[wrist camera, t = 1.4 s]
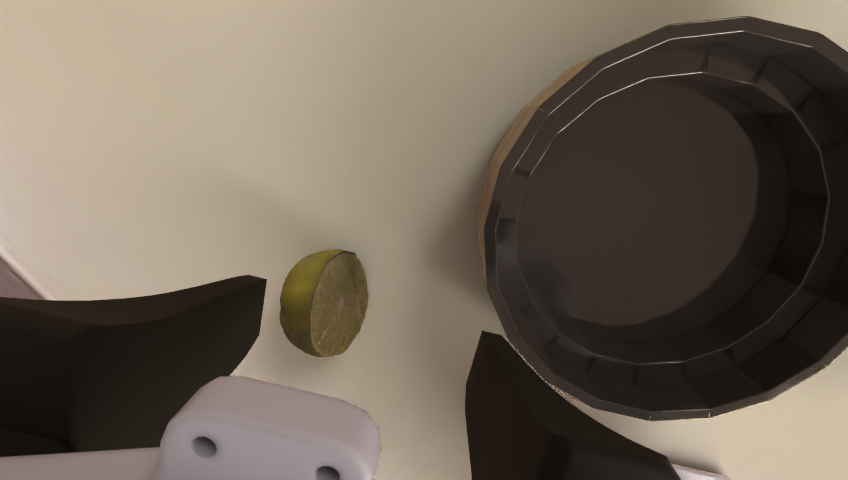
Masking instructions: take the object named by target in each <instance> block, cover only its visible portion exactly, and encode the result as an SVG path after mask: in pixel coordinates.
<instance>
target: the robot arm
mask: <svg viewBox="0 0 848 480" xmlns="http://www.w3.org/2000/svg"><path fill="white" fill-rule="evenodd" d="M266 282H267V279H263V278H259V277H255V276H251V275H244V276H238V277H233V278H229V279H225V280H221V281H217V282H213V283H209V284H205V285H201V286H197V287H192V288H188V289H183V290H178V291H174V292H169V293H163V294H157V295H151V296H143V297H135V298H125V299H109V300H93V301H53V300H32V299H18V298H5V297H0V480H375V474H376V469H377V465H378V460H379V455H380V450H381V446H380V432H379V428H378V427H377V425H376V424H375V423H374V421H373V420H372V419H371V417H370V416H369V415H368V413H367V412H366V411H365V410H363V409H361V408H359V407H357V406H355V405H352V404H350V403H348V402H346V401H344V400H340V399H336V398H332V397H328V396H323V395H319V394H315V393H311V392H306V391H302V390H298V389H294V388H290V387H285V386H281V385H277V384H273V383H269V382H264V381H260V380H256V379H252V378H247V377H238V376H229V375H230V374H231V373H232V372H233V371H234V370H235V368H236V367H237V366H238V365H239V364H240V363H241V361H242V360H243V359H244V358H245V356H246V355H247V353H248V352H249V350H250V349H251V347H252V346H253V344H254V342H255V341H256V339H257V337H258V336H259V333H260V325H261V318H262V311H263V304H264V296H265V289H266ZM465 415H466V425H467V435H468V444H469V454H470V463H471V473H472V480H731V479H730V478H729V477H727V476H724V475H719V474H715V473H711V472H706V471H702V470H697V469H693V468H689V467H684V466H680V465H676V464H671V463H670V461H669V460H668V458H667V457H666V456H664V455H662V454H660V453H658V452H655V451H653V450H651V449H649V448H647V447H644V446H642V445H640V444H638V443H636V442H633V441H631V440H629V439H627V438H625V437H624V436H622V435H620V434H618V433H616V432H614V431H613V430H611V429H609V428H607V427H605V426H604V425H602V424H600V423H599V422H597V421H595V420H594V419H592V418H591V417H589V416H588V415H586V414H585V413H583V412H582V411H580V410H579V409H578V408H576V407H575V406H573V405H572V404H571V403H569V402H568V401H567V400H566V399H564V398H563V397H562V396H561V395H559V394H558V393H557V392H556V391H554V390H553V389H552V388H551V387H550V386H549V385H548V384H547V383H546V382H545V381H543V380H542V379H541V378H540V377H539V376H538V375H537V374H536V373H535V372H534V371H533V370H532V369H531V368H530V367H529V365H528V364H527V363H526V362H525V361H524V360H523V359H522V358H521V357H520V356H519V355H518V353H517V352H516V351H515V350H514V349H513V348H512V347H511V345H510V344H509V343H508V342H507V341H506V340H505V339H504V338H503V337H502V336H501V335H498V334H494V333H490V332H485V331H482V333H481V336H480V340H479V343H478V346H477V350H476V353H475V356H474V359H473V363H472V366H471V369H470V373H469V376H468V379H467V383H466V398H465Z"/></svg>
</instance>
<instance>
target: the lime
mask: <svg viewBox="0 0 848 480" xmlns="http://www.w3.org/2000/svg"><path fill="white" fill-rule="evenodd" d="M356 256H357V255H356V254H355V253H353V252H348V251H343V250H327V251H322V252H318V253H314V254H311V255H309V256H307V257H305V258H303V259H301V260H300V261H299V262H298V263H297V264H296V265H295V266H294V267H293V269H292V270H291V271H290V272H289V274H288V276H287V277H286V279H285V282H284V285H283V288H282V292H281V296H280V303H281V304H280V305H281V311H280V323H281V326H282V328H283V331H284V333H285V335H286V337H287V338H288V340H289V341H290V342H291V343H292V344H293V345H294V346H296V347H297V348H299V349H300V350H302V351H303V352H305V353H307V354H310V355H312V356H316V357H328V356H334V355H338V354H342V353H343V352H344V351H345V350H347V349H348V347H349V346H350V344H351V343H352V341H353V340H354V339H355V337H356V335H357V334H358V333H359V331H360V329H361V326H362V323H363V321H364V319H365V312H366V309H367V306H368V289H367V279H366V275H365V271H364V268H363V266H362V264H361V263H360V260H359V259H357V257H356Z"/></svg>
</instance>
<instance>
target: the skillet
mask: <svg viewBox="0 0 848 480" xmlns="http://www.w3.org/2000/svg"><path fill="white" fill-rule="evenodd" d="M478 228H479V244H480V258H481V263H482V268H483V273H484V277H485V282H486V286H487V290H488V293H489V295H490V298H491V300H492V302H493V305H494V307H495V309H496V312H497V314H498V316H499V319H500V321H501V324H502V326H503V328H504V331H505V333H506V335H507V338H508V339H509V341H510V342H511V343H512V345H513V346H514V347H515V348H516V349H517V350H518V351H519V352H520V353H521V355H522V356H523V357H524V358H525V359H526V360H527V361H528V362H529V363H530V364H531V366H532V367H533V368H534V369H535V370H536V371H537V372H538V373H539V374H540V376H541V377H542V378H543V379H544V380H546V381H547V382H548V383H550V384H552V385H554V386H555V387H557V388H559V389H561V390H562V391H564V392H566V393H568V394H570V395H571V396H573V397H575V398H577V399H578V400H580V401H582V402H584V403H585V404H587V405H589V406H591V407H592V408H593V407H594V408H595V409H599V410H604V411H608V412H612V413H617V414H621V415H625V416H630V417H634V418H639V419H643V420H647V421H649V420H650V421H663V420H688V419H709V418H714V417H717V416H720V415H724V414H727V413H730V412H734V411H737V410H741V409H744V408H747V407H751V406H754V405H757V404H761V403H764V402H768V401H770V400H772V399H774V398H776V397H778V396H779V395H781V394H783V393H784V392H786V391H788V390H789V389H791V388H793V387H795V386H796V385H798V384H800V383H801V382H803V381H805V380H807V379H808V378H810V377H812V376H813V375H815V374H817V373H818V372H820V371H822V370H824V369H825V368H826V367H828V366H829V365H830V364H831V363H832V362H833V361H834V360H835V359H836V358H837V357H838V356H839V355H840V354H841V353H842V352H843V351H844V350H845V349H846V348H847V347H848V52H847V51H845V50H844V49H842V48H841V47H840V46H838V45H837V44H835V43H834V42H832V41H831V40H830V39H828V38H827V37H825V36H824V35H822V34H820V33H818V32H814V31H810V30H806V29H802V28H797V27H793V26H789V25H784V24H780V23H776V22H772V21H767V20H763V19H759V18H754V17H750V16H740V17H731V18H722V19H713V20H704V21H695V22H686V23H677V24H670V25H666V26H664V27H662V28H660V29H657V30H655V31H653V32H650V33H648V34H646V35H644V36H641V37H639V38H637V39H634V40H632V41H630V42H627V43H625V44H623V45H621V46H618V47H616V48H614V49H612V50H609V51H607V52H605V53H603V54H600V55H598V56H596V57H594V58H591V59H589V60H587V61H585V62H582V63H580V64H578V65H576V66H574V67H571V68H570V69H568V70H566V71H565V72H564V73H563V74H562V75H560V76H559V77H558V78H557V79H556V80H555V81H553V82H552V83H551V84H550V85H549V86H548V87H547V88H545V89H544V90H543V91H542V92H541V93H540V94H538V95H537V96H536V97H535V98H534V99H533V100H532V101H530V102H529V103H528V104H527V105H526V106H525V107H524V108H523V110H521V111H520V113H519V114H518V116H517V117H516V119H515V121H514V122H513V124H512V125H511V127H510V128H509V130H508V132H507V133H506V135H505V136H504V138H503V140H502V141H501V143H500V144H499V146H498V148H497V149H496V151H495V152H494V154H493V155H492V158H491V159H490V163H489V167H488V171H487V175H486V178H485V182H484V186H483V190H482V194H481V198H480V201H479V205H478ZM846 291H847V292H846Z"/></svg>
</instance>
